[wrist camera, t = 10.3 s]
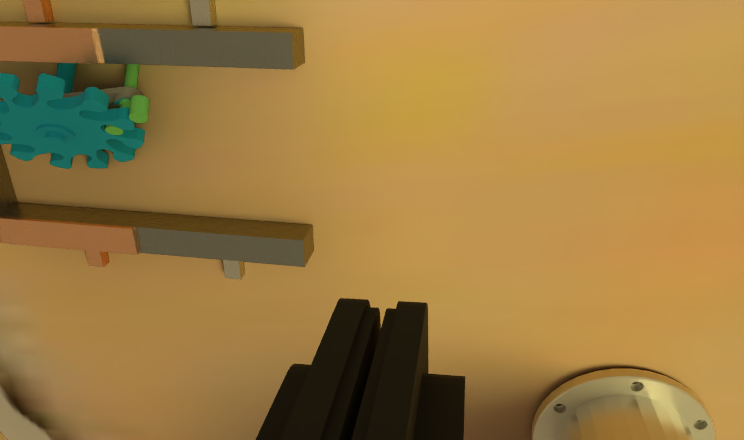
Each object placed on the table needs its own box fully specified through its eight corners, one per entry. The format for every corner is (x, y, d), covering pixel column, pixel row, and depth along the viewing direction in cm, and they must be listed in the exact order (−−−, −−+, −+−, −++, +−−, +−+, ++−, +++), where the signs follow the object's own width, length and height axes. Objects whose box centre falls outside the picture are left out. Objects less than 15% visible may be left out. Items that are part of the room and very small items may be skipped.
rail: (315, 280, 40) (304, 303, 38) (21, 253, 44) (-8, 273, 41) (300, -18, 32) (285, -16, 29) (-63, -22, 35) (-107, -20, 33)
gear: (32, 183, 39) (-95, 105, 29) (44, 111, 41) (-70, 17, 32) (184, 167, 38) (104, 82, 29) (189, 94, 40) (116, -7, 31)
